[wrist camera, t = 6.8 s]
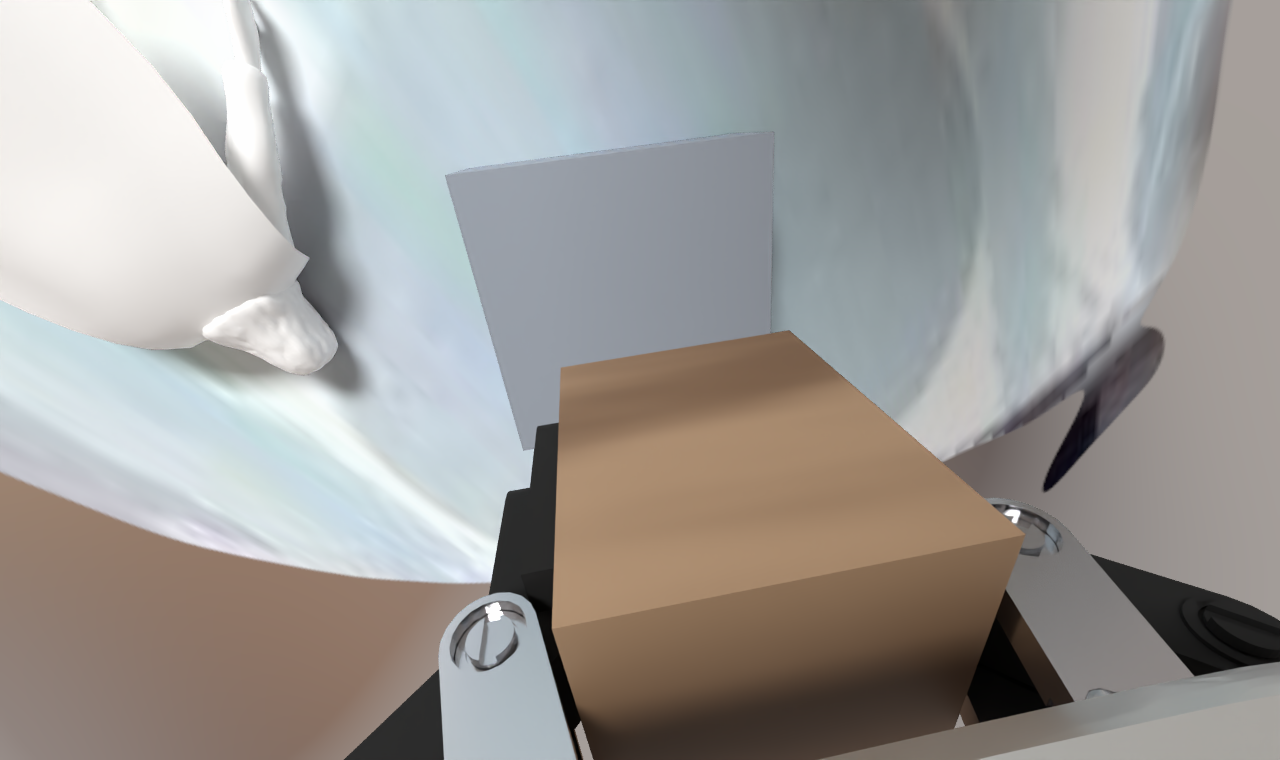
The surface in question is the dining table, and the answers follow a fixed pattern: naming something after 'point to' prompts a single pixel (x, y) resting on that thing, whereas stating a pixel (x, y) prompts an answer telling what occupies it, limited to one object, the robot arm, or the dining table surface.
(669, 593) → the walnut block
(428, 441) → the dining table surface
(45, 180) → the figurine
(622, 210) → the plinth
